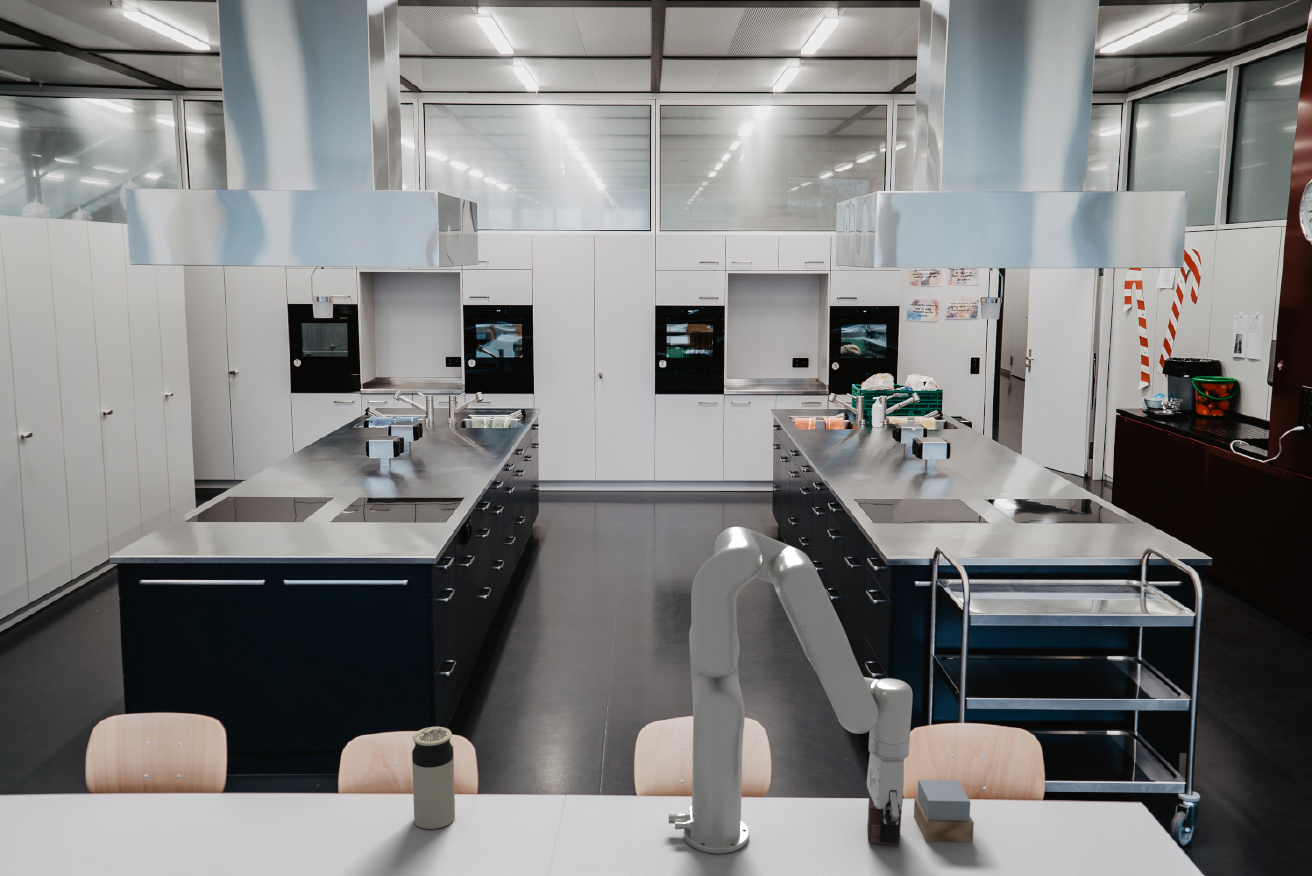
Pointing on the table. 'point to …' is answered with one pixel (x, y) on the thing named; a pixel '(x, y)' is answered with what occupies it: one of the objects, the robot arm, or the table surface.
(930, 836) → the tower base
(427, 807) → the travel mug
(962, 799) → the tower top
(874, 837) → the box
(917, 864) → the table surface
